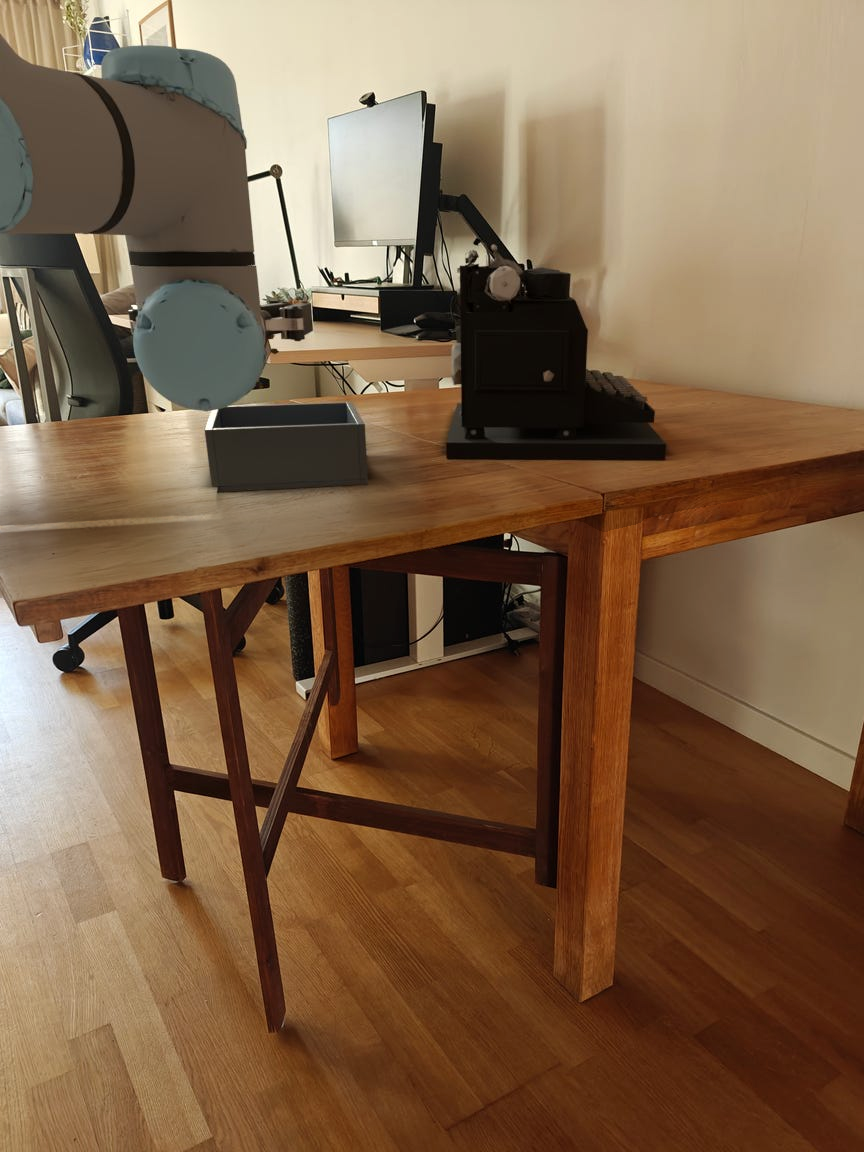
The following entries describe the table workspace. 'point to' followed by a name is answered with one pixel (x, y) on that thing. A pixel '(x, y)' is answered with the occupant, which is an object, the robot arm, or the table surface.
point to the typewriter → (536, 375)
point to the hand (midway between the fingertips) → (228, 313)
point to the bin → (286, 446)
